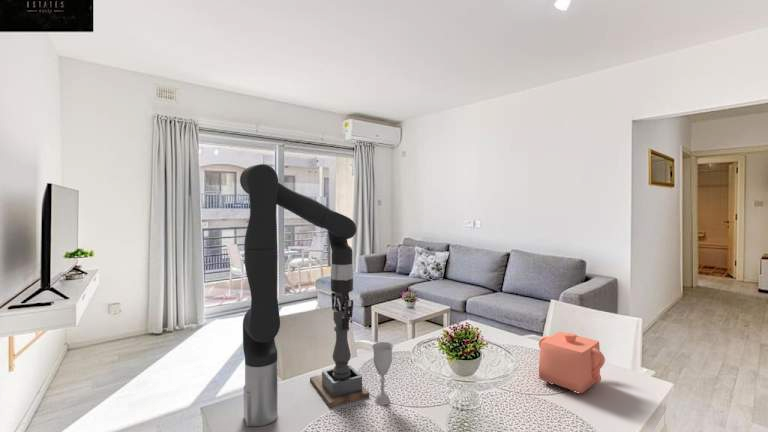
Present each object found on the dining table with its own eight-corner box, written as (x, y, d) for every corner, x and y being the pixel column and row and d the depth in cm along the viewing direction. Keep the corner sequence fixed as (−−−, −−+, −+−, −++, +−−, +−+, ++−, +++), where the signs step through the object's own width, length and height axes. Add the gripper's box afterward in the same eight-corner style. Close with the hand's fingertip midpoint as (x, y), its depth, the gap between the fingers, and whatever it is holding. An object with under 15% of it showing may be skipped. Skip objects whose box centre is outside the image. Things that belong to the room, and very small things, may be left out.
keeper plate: (329, 407, 119) (329, 402, 119) (309, 381, 137) (309, 377, 136) (369, 396, 126) (369, 392, 126) (345, 373, 143) (345, 369, 143)
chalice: (380, 393, 128) (380, 340, 128) (397, 399, 124) (397, 345, 124) (367, 402, 122) (367, 347, 122) (384, 408, 118) (384, 352, 118)
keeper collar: (332, 398, 121) (332, 383, 121) (321, 385, 131) (322, 370, 130) (362, 391, 126) (362, 376, 126) (349, 378, 136) (349, 365, 135)
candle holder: (347, 388, 125) (347, 313, 124) (329, 386, 126) (330, 312, 125) (352, 379, 131) (353, 308, 130) (335, 378, 132) (336, 307, 131)
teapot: (556, 361, 156) (557, 318, 156) (618, 380, 139) (619, 332, 139) (527, 379, 139) (528, 331, 139) (594, 403, 123) (595, 349, 122)
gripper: (324, 274, 132) (323, 322, 132) (339, 281, 119) (339, 334, 120) (344, 272, 136) (343, 319, 136) (361, 279, 123) (360, 331, 123)
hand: (341, 326), depth 128 cm, fingers closed on candle holder, 5 cm apart
